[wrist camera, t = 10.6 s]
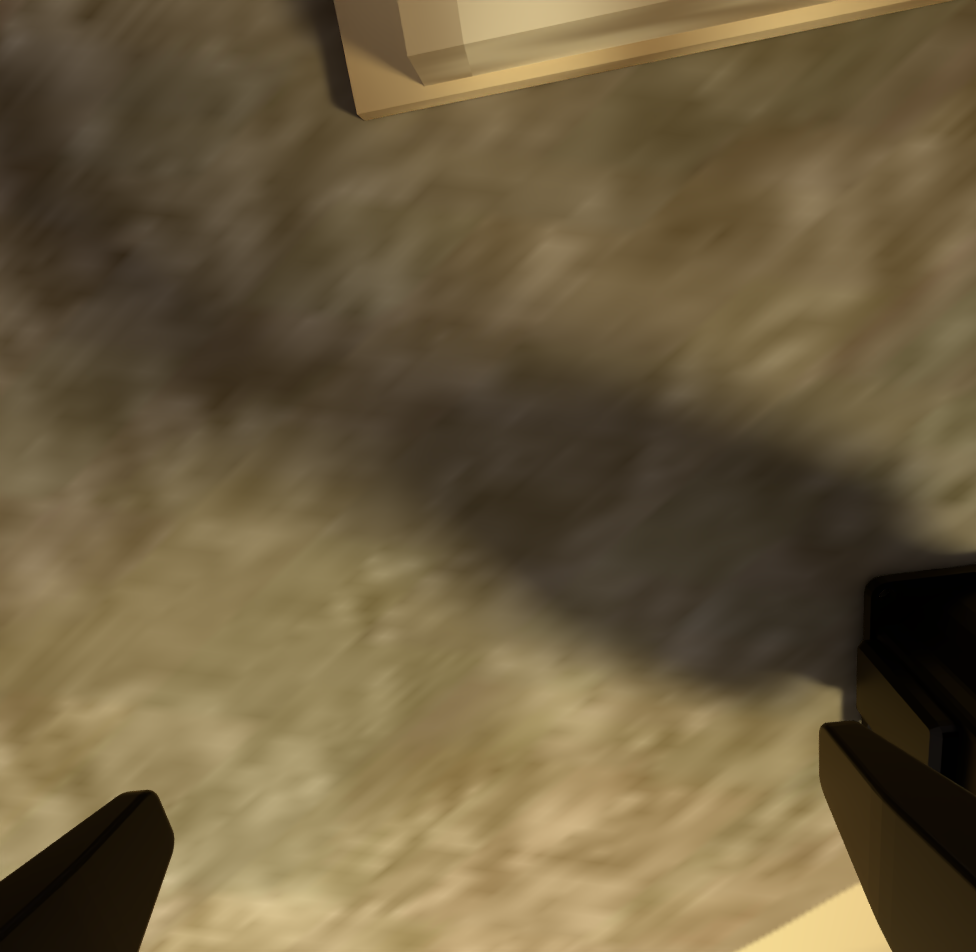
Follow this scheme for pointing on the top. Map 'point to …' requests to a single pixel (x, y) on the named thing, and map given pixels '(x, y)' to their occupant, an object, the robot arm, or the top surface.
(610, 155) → the top surface
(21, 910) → the robot arm
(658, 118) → the top surface
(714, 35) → the tray
